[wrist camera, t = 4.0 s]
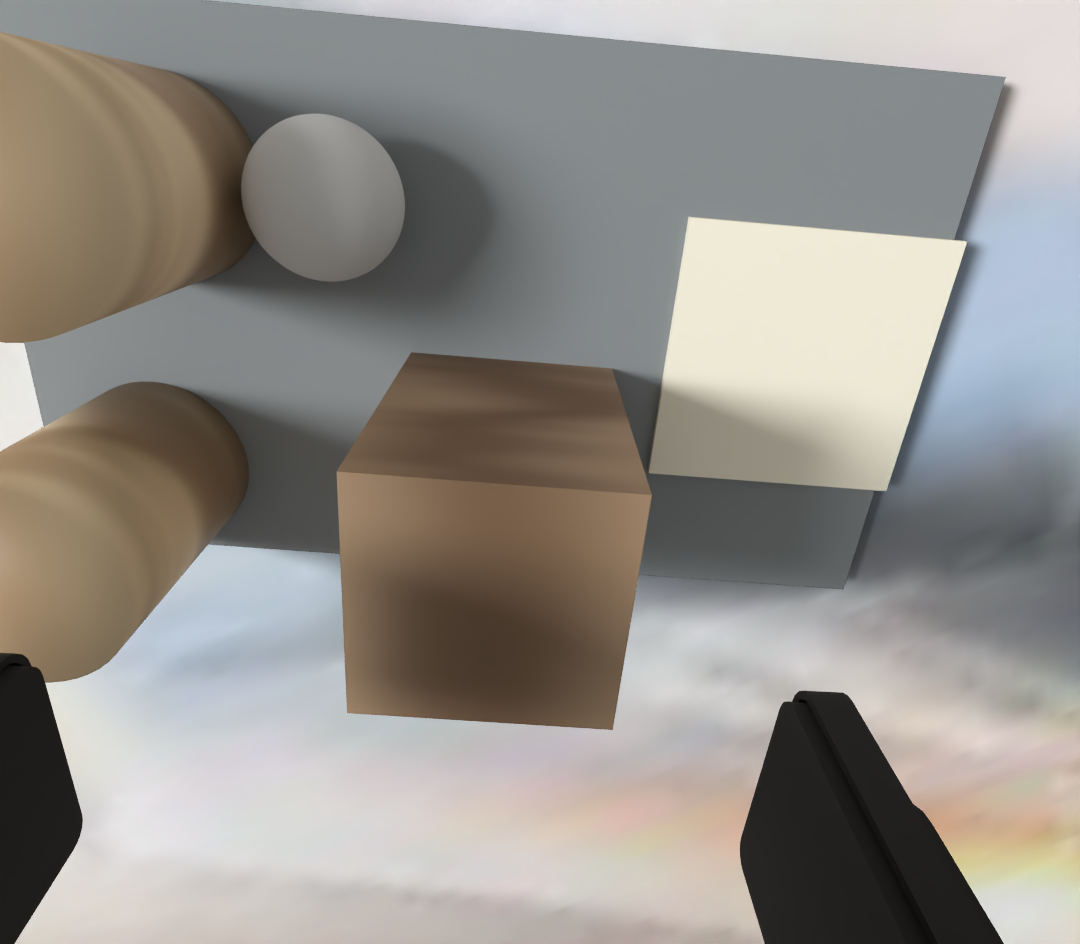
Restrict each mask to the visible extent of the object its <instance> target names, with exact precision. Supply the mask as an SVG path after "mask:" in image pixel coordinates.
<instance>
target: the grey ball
mask: <svg viewBox="0 0 1080 944" xmlns="http://www.w3.org/2000/svg"><path fill="white" fill-rule="evenodd" d="M241 198H242V204H243V209H244V213H245V217H246V219H247V222H248V224H249V227H250V229H251V231H252V232H253V234H254V236H255V238H256V239H257V241H258V242H259V243H260V245H261V246H262V247H263V248H264V250H265V251H266V252H267V253H268V254H269V255H270V256H271V257H272V258H273V259H274V260H276V261H277V262H278V263H280V264H281V265H282V266H284V267H285V268H287V269H289V270H290V271H292V272H294V273H296V274H298V275H301V276H303V277H306V278H310V279H313V280H319V281H333V282H337V281H345V280H349V279H353V278H356V277H359V276H361V275H363V274H366V273H368V272H369V271H371V270H373V269H374V268H375V267H377V266H378V265H379V264H380V263H382V262H383V260H384V259H385V258H386V257H387V256H388V255H389V254H390V252H391V251H392V249H393V248H394V246H395V244H396V242H397V240H398V238H399V236H400V233H401V230H402V227H403V222H404V215H405V198H404V191H403V186H402V183H401V179H400V176H399V173H398V171H397V169H396V167H395V164H394V163H393V161H392V159H391V158H390V156H389V154H388V153H387V152H386V150H385V149H384V148H383V146H382V145H381V144H380V143H379V142H378V141H377V140H376V139H375V138H374V137H373V136H372V135H370V134H369V133H368V132H367V131H365V130H364V129H362V128H361V127H359V126H357V125H356V124H354V123H352V122H349V121H347V120H345V119H342V118H339V117H336V116H333V115H327V114H303V115H297V116H293V117H290V118H287V119H285V120H283V121H280V122H278V123H277V124H275V125H274V126H272V127H271V128H270V129H268V130H267V131H266V132H265V133H264V134H263V135H262V136H261V137H260V138H259V139H258V140H257V142H256V143H255V144H254V145H253V147H252V149H251V151H250V153H249V154H248V157H247V160H246V162H245V165H244V169H243V174H242V181H241Z"/></svg>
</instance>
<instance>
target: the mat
mask: <svg viewBox="0 0 1080 944" xmlns="http://www.w3.org/2000/svg"><path fill="white" fill-rule="evenodd" d="M0 32H3V33H7V34H12V35H16V36H21V37H25V38H29V39H34V40H38V41H42V42H47V43H51V44H55V45H60V46H64V47H68V48H73V49H77V50H81V51H86V52H90V53H94V54H99V55H103V56H107V57H112V58H116V59H120V60H125V61H129V62H133V63H138V64H142V65H146V66H151V67H155V68H159V69H164V70H167V71H170V72H174V73H177V74H179V75H182V76H184V77H186V78H189V79H191V80H193V81H194V82H196V83H198V84H199V85H201V86H203V87H204V88H206V89H207V90H208V91H210V92H211V93H212V94H214V95H215V96H216V97H217V98H218V99H219V100H220V101H221V102H223V103H224V104H225V105H226V106H227V107H228V108H229V110H230V111H231V112H232V113H233V114H234V116H235V117H236V118H237V119H238V121H239V122H240V123H241V125H242V126H243V128H244V129H245V131H246V133H247V134H248V136H249V138H250V140H251V142H252V144H253V145H254V144H255V143H256V142H257V140H258V139H259V138H260V137H261V136H262V135H263V134H264V133H265V132H266V131H267V130H268V129H270V128H271V127H272V126H274V125H275V124H277V123H278V122H280V121H283V120H285V119H287V118H290V117H293V116H297V115H303V114H327V115H333V116H336V117H339V118H342V119H345V120H347V121H349V122H352V123H354V124H356V125H357V126H359V127H361V128H362V129H364V130H365V131H367V132H368V133H369V134H370V135H372V136H373V137H374V138H375V139H376V140H377V141H378V142H379V143H380V144H381V145H382V146H383V148H384V149H385V150H386V152H387V153H388V154H389V156H390V158H391V159H392V161H393V163H394V164H395V167H396V169H397V171H398V173H399V176H400V179H401V183H402V186H403V191H404V198H405V215H404V222H403V227H402V230H401V233H400V236H399V238H398V240H397V242H396V244H395V246H394V248H393V249H392V251H391V252H390V254H389V255H388V256H387V257H386V258H385V259H384V260H383V262H382V263H380V264H379V265H378V266H377V267H375V268H374V269H373V270H371V271H369V272H368V273H366V274H363V275H361V276H359V277H356V278H353V279H349V280H345V281H337V282H333V281H319V280H313V279H310V278H306V277H303V276H301V275H298V274H296V273H294V272H292V271H290V270H289V269H287V268H285V267H284V266H282V265H281V264H280V263H278V262H277V261H276V260H274V259H273V258H272V257H271V256H270V255H269V254H268V253H267V252H266V251H265V250H264V248H263V247H262V246H261V245H260V243H259V242H258V241H257V239H255V240H254V242H253V244H252V246H251V247H250V249H249V250H248V251H247V252H246V254H245V255H244V256H243V257H242V258H241V259H240V260H239V261H238V262H237V263H236V264H235V265H233V266H232V267H230V268H229V269H227V270H226V271H224V272H222V273H219V274H217V275H215V276H212V277H210V278H207V279H205V280H202V281H199V282H197V283H194V284H192V285H189V286H186V287H184V288H181V289H179V290H176V291H173V292H171V293H168V294H165V295H163V296H160V297H158V298H155V299H152V300H150V301H147V302H145V303H142V304H139V305H137V306H134V307H131V308H129V309H126V310H124V311H121V312H118V313H116V314H113V315H111V316H108V317H105V318H103V319H100V320H97V321H95V322H92V323H90V324H87V325H84V326H82V327H79V328H77V329H74V330H71V331H69V332H66V333H64V334H61V335H58V336H55V337H51V338H48V339H44V340H40V341H32V342H25V343H24V344H25V348H26V352H27V356H28V361H29V365H30V369H31V374H32V378H33V382H34V387H35V391H36V395H37V400H38V404H39V408H40V413H41V417H42V421H43V426H44V427H45V426H46V425H48V424H50V423H52V422H53V421H55V420H57V419H59V418H60V417H62V416H64V415H66V414H68V413H69V412H71V411H73V410H75V409H76V408H78V407H80V406H82V405H83V404H85V403H87V402H89V401H90V400H92V399H94V398H96V397H98V396H99V395H101V394H103V393H105V392H106V391H108V390H110V389H112V388H115V387H117V386H119V385H123V384H127V383H132V382H141V381H144V382H159V383H165V384H169V385H173V386H176V387H179V388H182V389H184V390H187V391H189V392H191V393H193V394H195V395H197V396H199V397H200V398H202V399H203V400H205V401H206V402H208V403H209V404H210V405H212V406H213V407H214V408H215V409H217V410H218V411H219V412H220V413H221V414H222V415H223V416H224V417H225V418H226V419H227V421H228V422H229V423H230V425H231V426H232V427H233V428H234V430H235V432H236V433H237V435H238V436H239V438H240V440H241V443H242V445H243V447H244V450H245V453H246V456H247V461H248V466H249V481H248V487H247V491H246V494H245V497H244V499H243V501H242V503H241V504H240V506H239V507H238V509H237V510H236V511H235V513H234V514H233V515H232V516H231V517H230V519H229V520H228V521H227V522H226V523H225V525H224V526H223V527H222V528H221V529H220V531H219V532H218V533H217V534H216V535H215V537H214V538H213V539H212V540H211V541H210V543H209V544H210V545H224V546H238V547H253V548H267V549H281V550H295V551H309V552H323V553H337V554H340V538H339V516H338V493H337V470H338V468H339V467H340V465H341V464H342V462H343V461H344V459H345V457H346V456H347V454H348V453H349V451H350V449H351V448H352V446H353V445H354V443H355V441H356V440H357V438H358V437H359V435H360V433H361V432H362V430H363V429H364V427H365V425H366V424H367V422H368V421H369V419H370V417H371V416H372V414H373V413H374V411H375V409H376V408H377V406H378V405H379V403H380V401H381V400H382V398H383V397H384V395H385V393H386V392H387V390H388V389H389V387H390V385H391V384H392V382H393V381H394V379H395V377H396V376H397V374H398V373H399V371H400V369H401V368H402V366H403V365H404V363H405V361H406V360H407V358H408V357H409V355H410V353H411V352H414V353H427V354H439V355H452V356H464V357H476V358H489V359H501V360H514V361H526V362H539V363H551V364H563V365H576V366H588V367H601V368H612V370H613V373H614V377H615V380H616V383H617V386H618V389H619V393H620V396H621V399H622V402H623V405H624V408H625V412H626V415H627V418H628V421H629V424H630V427H631V431H632V434H633V437H634V440H635V443H636V446H637V450H638V453H639V456H640V459H641V462H642V465H643V469H644V472H645V475H646V478H647V481H648V484H649V488H650V491H651V494H652V497H651V503H650V509H649V515H648V521H647V527H646V533H645V539H644V545H643V551H642V557H641V563H640V569H639V575H649V576H663V577H677V578H691V579H705V580H719V581H733V582H748V583H762V584H776V585H790V586H804V587H818V588H832V589H844V586H845V583H846V579H847V576H848V573H849V570H850V567H851V564H852V561H853V557H854V554H855V551H856V548H857V545H858V542H859V538H860V535H861V532H862V529H863V526H864V523H865V519H866V516H867V513H868V510H869V507H870V504H871V501H872V497H873V494H874V491H875V490H877V491H886V490H887V487H888V484H889V481H890V478H891V475H892V472H893V469H894V466H895V463H896V460H897V457H898V454H899V450H900V447H901V444H902V441H903V438H904V435H905V432H906V429H907V426H908V423H909V420H910V417H911V413H912V410H913V407H914V404H915V401H916V398H917V395H918V392H919V389H920V386H921V383H922V380H923V377H924V373H925V370H926V367H927V364H928V361H929V358H930V355H931V352H932V349H933V346H934V343H935V340H936V336H937V333H938V330H939V327H940V324H941V321H942V318H943V315H944V312H945V309H946V306H947V303H948V300H949V296H950V293H951V290H952V287H953V284H954V281H955V278H956V275H957V272H958V269H959V266H960V263H961V260H962V256H963V253H964V250H965V247H966V244H967V241H962V240H954V239H955V235H956V232H957V229H958V226H959V223H960V220H961V216H962V213H963V210H964V207H965V204H966V201H967V198H968V194H969V191H970V188H971V185H972V182H973V179H974V175H975V172H976V169H977V166H978V163H979V160H980V156H981V153H982V150H983V147H984V144H985V141H986V138H987V134H988V131H989V128H990V125H991V122H992V119H993V115H994V112H995V109H996V106H997V103H998V100H999V97H1000V93H1001V90H1002V87H1003V84H1004V81H1005V78H1006V77H999V76H989V75H978V74H968V73H957V72H947V71H937V70H926V69H916V68H905V67H895V66H885V65H874V64H864V63H853V62H843V61H833V60H822V59H812V58H801V57H791V56H781V55H770V54H760V53H749V52H739V51H729V50H718V49H708V48H697V47H687V46H676V45H666V44H656V43H645V42H635V41H624V40H614V39H604V38H593V37H583V36H572V35H562V34H552V33H541V32H531V31H520V30H510V29H500V28H489V27H479V26H468V25H458V24H448V23H437V22H427V21H416V20H406V19H396V18H385V17H375V16H364V15H354V14H344V13H333V12H323V11H312V10H302V9H291V8H281V7H271V6H260V5H250V4H239V3H229V2H219V1H208V0H0Z"/></svg>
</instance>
